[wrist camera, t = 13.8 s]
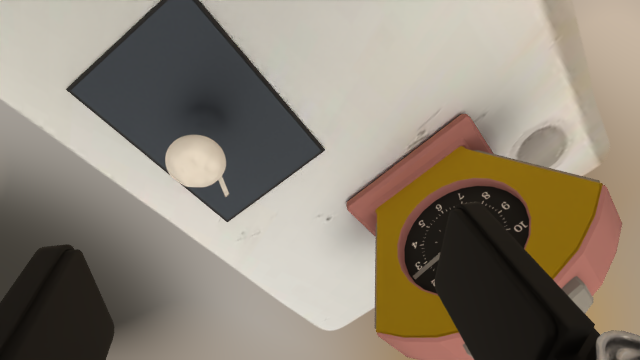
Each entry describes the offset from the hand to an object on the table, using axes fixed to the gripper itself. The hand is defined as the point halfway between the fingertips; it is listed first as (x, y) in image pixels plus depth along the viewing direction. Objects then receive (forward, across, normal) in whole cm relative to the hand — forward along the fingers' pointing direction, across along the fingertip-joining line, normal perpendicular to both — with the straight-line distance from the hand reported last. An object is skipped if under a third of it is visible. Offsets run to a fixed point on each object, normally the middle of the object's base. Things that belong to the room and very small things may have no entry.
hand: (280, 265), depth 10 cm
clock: (+28, -18, +17) cm, 38 cm away
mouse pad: (+28, +5, +7) cm, 30 cm away
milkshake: (+28, +5, +7) cm, 29 cm away
